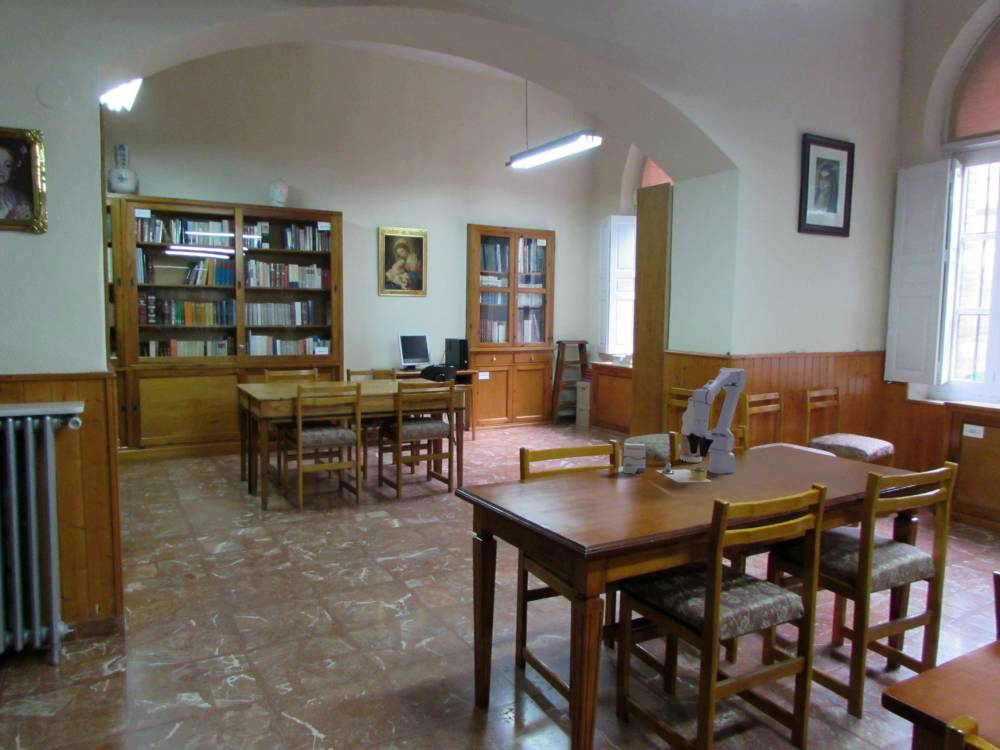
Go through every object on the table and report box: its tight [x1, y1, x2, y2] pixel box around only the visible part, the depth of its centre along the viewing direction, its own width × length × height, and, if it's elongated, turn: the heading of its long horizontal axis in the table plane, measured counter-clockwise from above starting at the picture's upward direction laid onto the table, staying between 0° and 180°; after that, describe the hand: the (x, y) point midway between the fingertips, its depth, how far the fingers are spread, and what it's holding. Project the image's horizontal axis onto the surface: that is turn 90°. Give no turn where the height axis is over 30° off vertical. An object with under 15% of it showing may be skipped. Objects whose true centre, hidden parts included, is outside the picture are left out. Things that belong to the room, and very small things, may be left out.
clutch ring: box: [690, 468, 708, 480], centre depth 258 cm, size 6×6×3 cm
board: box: [655, 467, 713, 483], centre depth 262 cm, size 14×20×5 cm
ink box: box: [622, 442, 647, 475], centre depth 269 cm, size 8×5×12 cm, turn 84°
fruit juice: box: [679, 396, 703, 463], centre depth 294 cm, size 9×9×28 cm
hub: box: [662, 461, 674, 475], centre depth 266 cm, size 5×5×4 cm
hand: (698, 455), depth 257 cm, fingers open, 7 cm apart
